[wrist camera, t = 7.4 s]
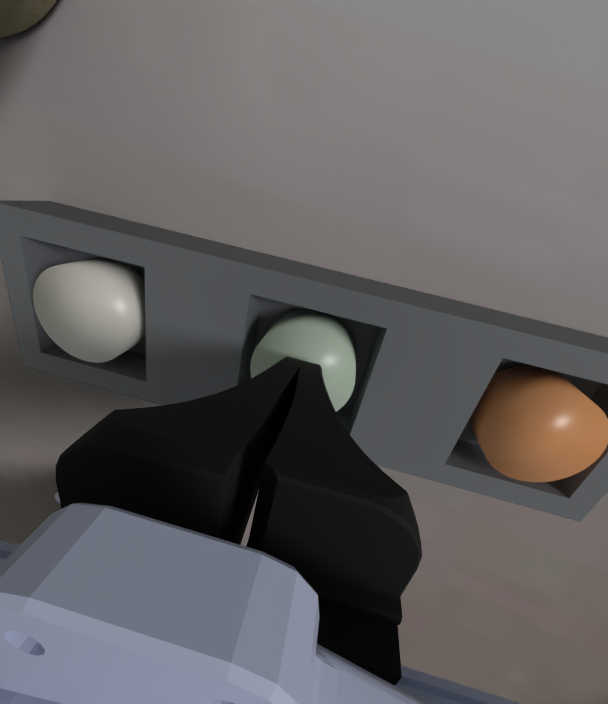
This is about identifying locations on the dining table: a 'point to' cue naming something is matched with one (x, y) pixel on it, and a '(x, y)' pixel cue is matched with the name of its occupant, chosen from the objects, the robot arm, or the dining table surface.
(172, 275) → the button panel
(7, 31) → the planter bowl
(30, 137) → the dining table surface
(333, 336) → the sage button
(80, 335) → the cream button
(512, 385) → the orange button
